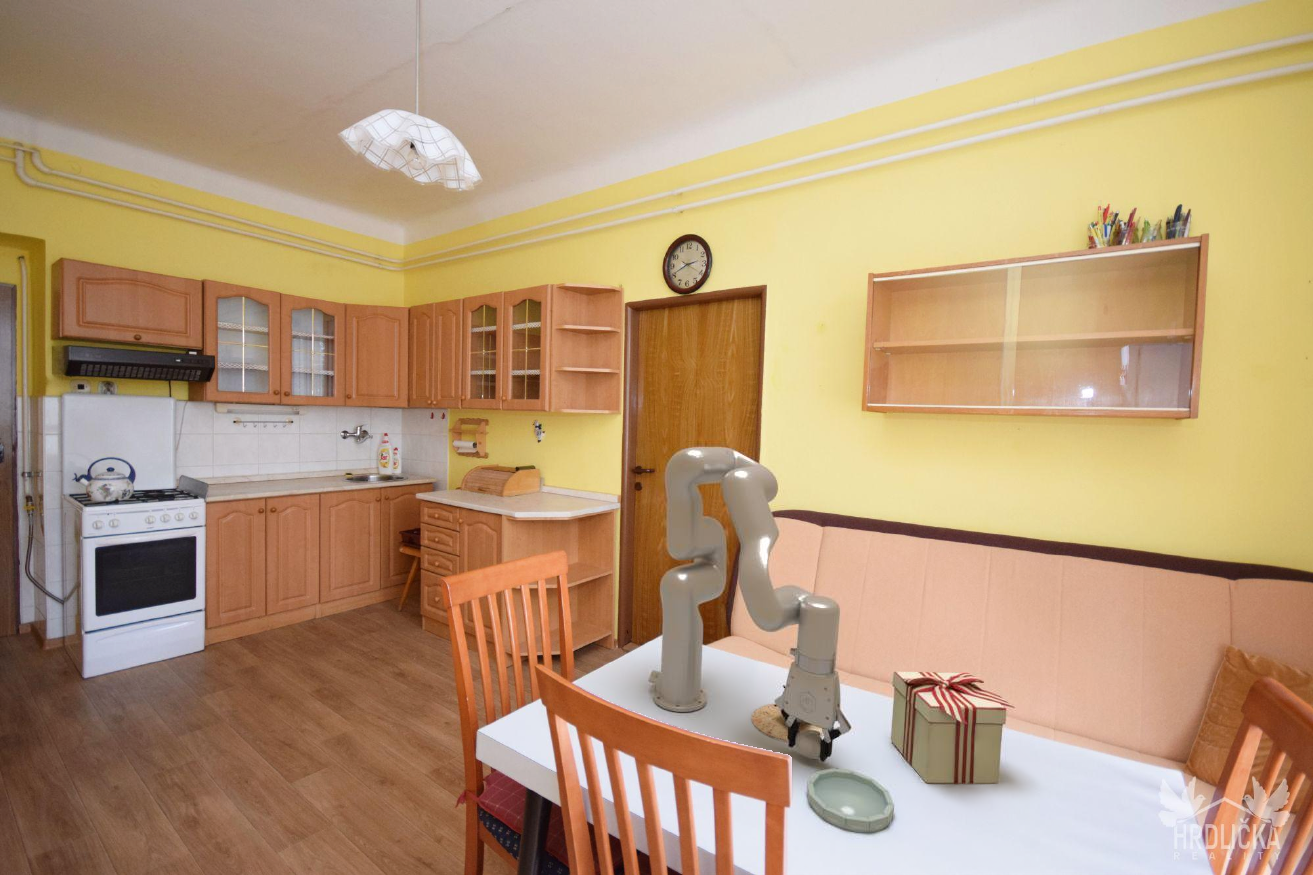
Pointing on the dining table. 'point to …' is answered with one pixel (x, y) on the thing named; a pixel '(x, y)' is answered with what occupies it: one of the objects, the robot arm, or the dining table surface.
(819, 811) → the plate
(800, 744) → the garlic
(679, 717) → the dining table surface
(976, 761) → the gift box
